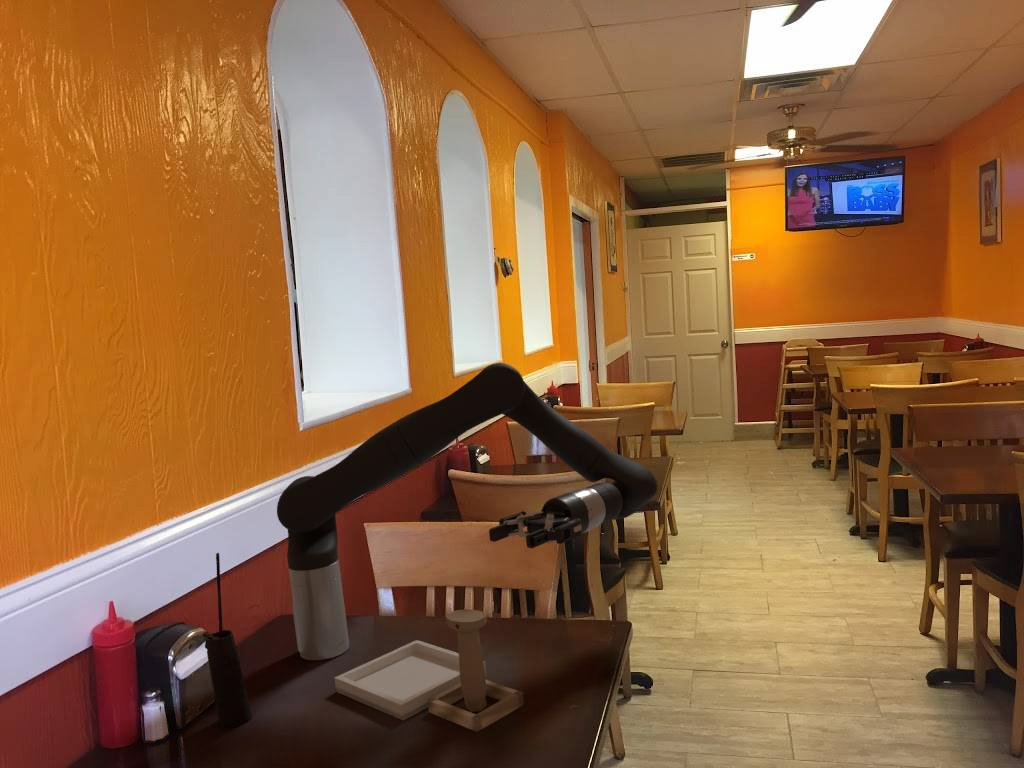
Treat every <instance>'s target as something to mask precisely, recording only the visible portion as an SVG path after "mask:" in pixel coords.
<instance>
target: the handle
mask: <svg viewBox="0 0 1024 768" xmlns="http://www.w3.org/2000/svg"><path fill="white" fill-rule="evenodd" d="M445 621H446V625H447V626H448V627H449V628H451V629H452V630H454V631H455V632H456V635H457V636H456V638H457V648H458V649H457V650H458V653H459V671H460V681H461V687H462V692H463V697H464V698H463V700H464V706H465V710H467V711H468V712H471V713H474V712H475V713H476V712H478V713H480V712H482V711H483V710H485V709H487V699H486V697H487V695H486V680H487V678H486V677H487V675H486V676H485V668H484V662H485V661H484V658H483V651H482V645H481V641H480V640H481V639H480V632H479V631H480V629H481V628H483V627H484V626H485V625H486V624H487V623H488V620H487V613H485V612H484V611H481V610H477V609H476V610H475V609H457V610H453V611H451V612H449V613H448V614H447V615H446V616H445ZM483 661H484V662H483Z"/></svg>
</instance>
